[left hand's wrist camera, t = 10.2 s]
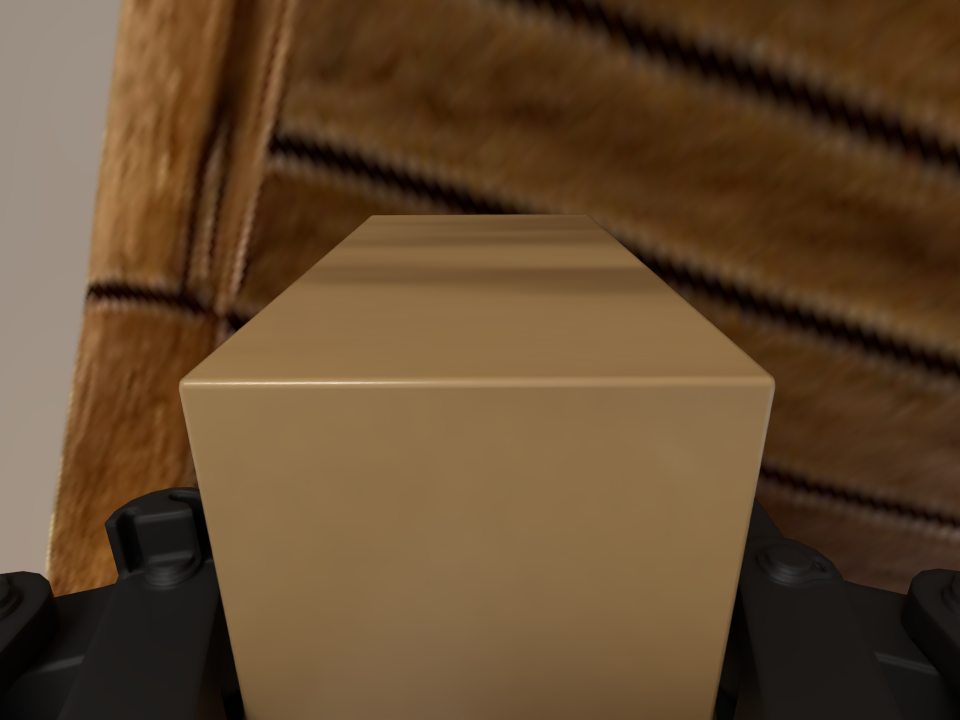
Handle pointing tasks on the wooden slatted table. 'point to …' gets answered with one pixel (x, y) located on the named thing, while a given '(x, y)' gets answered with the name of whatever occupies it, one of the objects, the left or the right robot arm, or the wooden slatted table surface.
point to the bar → (478, 480)
